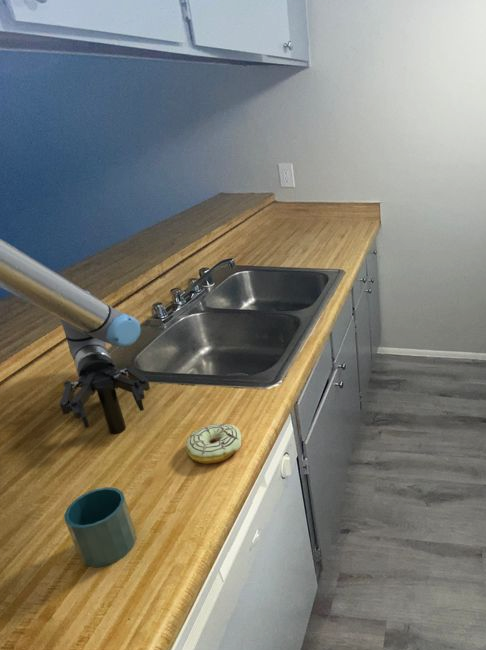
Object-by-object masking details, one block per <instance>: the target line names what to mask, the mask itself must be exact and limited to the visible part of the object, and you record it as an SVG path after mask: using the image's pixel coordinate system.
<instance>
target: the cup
mask: <svg viewBox="0 0 486 650" xmlns="http://www.w3.org/2000/svg"><path fill="white" fill-rule="evenodd" d="M63 516H64V517H63V518H64V522H65V524H66V527H67V530H68V532H69V534H70V538H71V539H72V540H71V541H72V542H73V544H74V547H75V550H76V552H77V554H78V557H79V559H80V561H81V563H83V565H85V566H87V567H91V568H101V567H102V568H103V567H106V566H110V565H111V564H115V563H116V562H118V561H120V560H121V559H123V558H124V557H125V556H126V555H128V554H129V553H130V551H131V550H132V549H133V548H134V546H135V544H136V541H137V533H136V529H135V527H134V523H133V519H132V517H131V513H130V510H129V507H128V503H127V501H126V497H125V495H124V492H123V491H122V490H120V489H118V488H117V487H109V486H105V487H99V488H95V489H92V490H90V491H87V492H84V493H82V494H81V495H79V497H77V498H76V499H74V500H73V501H72V502H71V503H70V505H68V506H67V508H66V510H65V512H64V514H63Z"/></svg>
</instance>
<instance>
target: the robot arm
mask: <svg viewBox="0 0 486 650" xmlns="http://www.w3.org/2000/svg"><path fill="white" fill-rule="evenodd" d="M0 289H3V290H5V291H7V292H9V293H10V294H12V295H15V296H17V297H18V298H20V299H22V300H24V301H26V302H28V303H30V304H32V305H34V306H36V307H37V308H40V309H41V310H43V311H45V312H48V313H49V314H51V315H52V316H55V317H57V318H58V319H59V320H60V323H61V326H62V328H63V331H64V334H65V339H66V342H67V345H68V349H69V353H70V355H71V357H72V359H73V362H74V367H75V370H76V373H77V376H78V379H77V380H76V381H73V382H71V381H69V380H66V381H63V387H64V389H63V392H62V395H61V398H60V402H59V407H60V409H61V412H62V415H68V414H70V413H72V414H73V417H74V419H76V420H79V419H81V420H82V423H83V426H84V428H85V429H88V428H90V424H89V421H88V418H87V414H86V411H85V408H84V406H85V405H86V403H87V402H88V400H89V399H90V398H91V396H94V394H95V393H97V390H96V387H95V385H96V384H97V383H98V382H100V381H103V380H112V381H113V384H114V387H115V390H116V389H121V390H123V391H126V392H130V393H132V397H133V399H134V401H135V403H136V405H137V407H138V409H139V411H140V412H141V411H145V407H144V404H143V400H145V398H146V395H145V392H144V391H149V390H150V389H151V388H150V383H149V379H148V378H146V377H145V376H144V375H142V374H141V373H140V372H138V371H136V370H135V369H134V368H133V366H132V364H127V365H126V366H125V368H123V369H120V368H117V366H116V365H115V363H114V361H113V358H112V356H111V354H110V352H109V350H108V348H107V345H106V343H107V344H109V345H111V346H115V347H120V348H126V347H129V346H131V345H133V344H134V343H136V342H137V340H138V338H139V337H140V335H141V332H142V331H141V330H142V329H141V324H140V322H139V321H138V319H137V318H135V317H133V316H131V315H130V314H128V313H123V312H121V311H119V310H117V309H116V308H114V307H112V306H110V305H109V304H107V303H106V302H104V301H103V300H101V299H99V298H98V297H96V296H95V295H93V294H91V292H89V291H88V290H85V289H84V288H81V287H80V286H78V285H77V284H75V283H73V282H72V281H70V280H69V279H67V278H66V277H64V276H62V275H61V274H59V273H57V272H56V271H54V270H52V269H50V268H49V267H48V266H46V265H44V264H43V263H41V262H40V261H37V260H36V259H34V258H33V257H32V256H30V255H28V254H26V253H25V252H23V251H22V250H20V249H18V248H17V247H15V246H13V245H11V243H9V242H7V241H6V240H4V239H2V238H0ZM78 388H79V390H78ZM77 390H78V391H77Z"/></svg>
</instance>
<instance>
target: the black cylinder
mask: <svg viewBox="0 0 486 650" xmlns="http://www.w3.org/2000/svg"><path fill="white" fill-rule="evenodd" d="M95 387H96V390H97V391H96V394H97V396H98V399H99V403H100V406H101V409H102V412H103V415H104V416H103V417H104V420H105V422H106V425H107V428H108V432H109V434H111V435H117V434H121V433H122V432H124V431H125V430H126V429H127V426H126V422H125V420H124V419H125V418H124V415H123V412H122V407H121V405H120V401H119V397H118V395H117V391H116V388H115V387H114V384H113V381H112V380H103V381H100V382H98V383H97V384H96V385H95Z"/></svg>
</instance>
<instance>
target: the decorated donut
mask: <svg viewBox="0 0 486 650" xmlns="http://www.w3.org/2000/svg"><path fill="white" fill-rule="evenodd" d="M242 437H243V436H242V433H241V430H240V429H239V428H238V427H237V426H236V425H233V424H230V423H229V424H228V423H212V424H209V425H205V426H203V427H200V428H199V429H197V430H195V431H193V432H192V433H191V434H190V436H188V438H187V440H186V441H185V449H186V453H187V454H188V457H190V458H191V460H193V461H195V462H197V463H199V464H200V463H201V464H204V465H207V464H216V463H220V462H223V461H226V460H227V459H229V458H230V457H231V456H232V455H234V453H236V452H237V451H239V450H240V448H241V446H242V439H243V438H242Z"/></svg>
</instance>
